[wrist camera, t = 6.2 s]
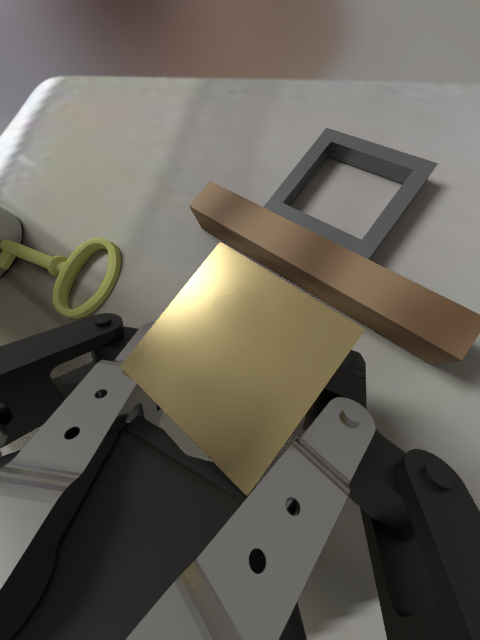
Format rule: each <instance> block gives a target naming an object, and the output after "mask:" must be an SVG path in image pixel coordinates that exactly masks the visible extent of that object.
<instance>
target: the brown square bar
mask: <svg viewBox="0 0 480 640" xmlns="http://www.w3.org/2000/svg"><path fill="white" fill-rule="evenodd" d="M189 207H190V208H191V210H192V212H193V214H194V215H195V217H196V219H197V221H198V222H199V224H200V226H201V228H202V229H204V230H206V231H207V232H209V233H211V234H212V235H214V236H216V237H217V238H219V239H221V240H222V241H224V242H226V243H227V244H229V245H231V246H232V247H234V248H236V249H238V250H239V251H241V252H243V253H244V254H246V255H248V256H249V257H251V258H253V259H254V260H256V261H258V262H259V263H261V264H263V265H264V266H266V267H268V268H269V269H271V270H273V271H274V272H276V273H278V274H279V275H281V276H283V277H284V278H286V279H288V280H290V281H291V282H293V283H295V284H296V285H298V286H300V287H301V288H303V289H305V290H306V291H308V292H310V293H311V294H313V295H315V296H316V297H318V298H320V299H321V300H323V301H325V302H326V303H328V304H330V305H331V306H333V307H335V308H337V309H338V310H340V311H342V312H343V313H345V314H347V315H348V316H350V317H352V318H353V319H355V320H357V321H358V322H360V323H362V324H363V325H365V326H367V327H368V328H370V329H372V330H373V331H375V332H377V333H378V334H380V335H382V336H384V337H385V338H387V339H389V340H390V341H392V342H394V343H395V344H397V345H399V346H400V347H402V348H404V349H405V350H407V351H409V352H410V353H412V354H414V355H415V356H417V357H419V358H420V359H422V360H424V361H425V362H427V363H429V364H437V363H445V362H453V361H461V360H462V359H463V358H464V356H465V355H466V353H467V352H468V350H469V349H470V347H471V346H472V344H473V343H474V341H475V339H476V338H477V336H478V335H479V333H480V315H479V314H477V313H475V312H473V311H471V310H469V309H467V308H465V307H463V306H461V305H459V304H457V303H455V302H453V301H451V300H449V299H447V298H445V297H443V296H441V295H439V294H437V293H435V292H433V291H431V290H429V289H427V288H425V287H423V286H421V285H419V284H417V283H415V282H413V281H411V280H409V279H407V278H405V277H403V276H401V275H399V274H397V273H395V272H393V271H391V270H389V269H387V268H385V267H383V266H381V265H379V264H377V263H375V262H372V261H370V260H368V259H366V258H364V257H362V256H360V255H358V254H356V253H354V252H352V251H350V250H348V249H346V248H344V247H342V246H340V245H338V244H336V243H334V242H332V241H330V240H328V239H326V238H324V237H322V236H320V235H318V234H316V233H314V232H312V231H310V230H308V229H306V228H304V227H302V226H300V225H298V224H296V223H294V222H292V221H290V220H288V219H286V218H284V217H282V216H280V215H278V214H276V213H274V212H272V211H270V210H268V209H266V208H263V207H261V206H259V205H257V204H255V203H253V202H251V201H249V200H247V199H245V198H243V197H241V196H239V195H237V194H235V193H233V192H231V191H229V190H227V189H225V188H223V187H221V186H219V185H217V184H215V183H213V182H211V181H209V183H208V184H207V185H206V186H205V187H204V189H203V190H202V191H201V192H200V193H199V195H198V196H197V197H196V198H195V199H194V201H193V202H192V203H191V204H190V205H189Z"/></svg>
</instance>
